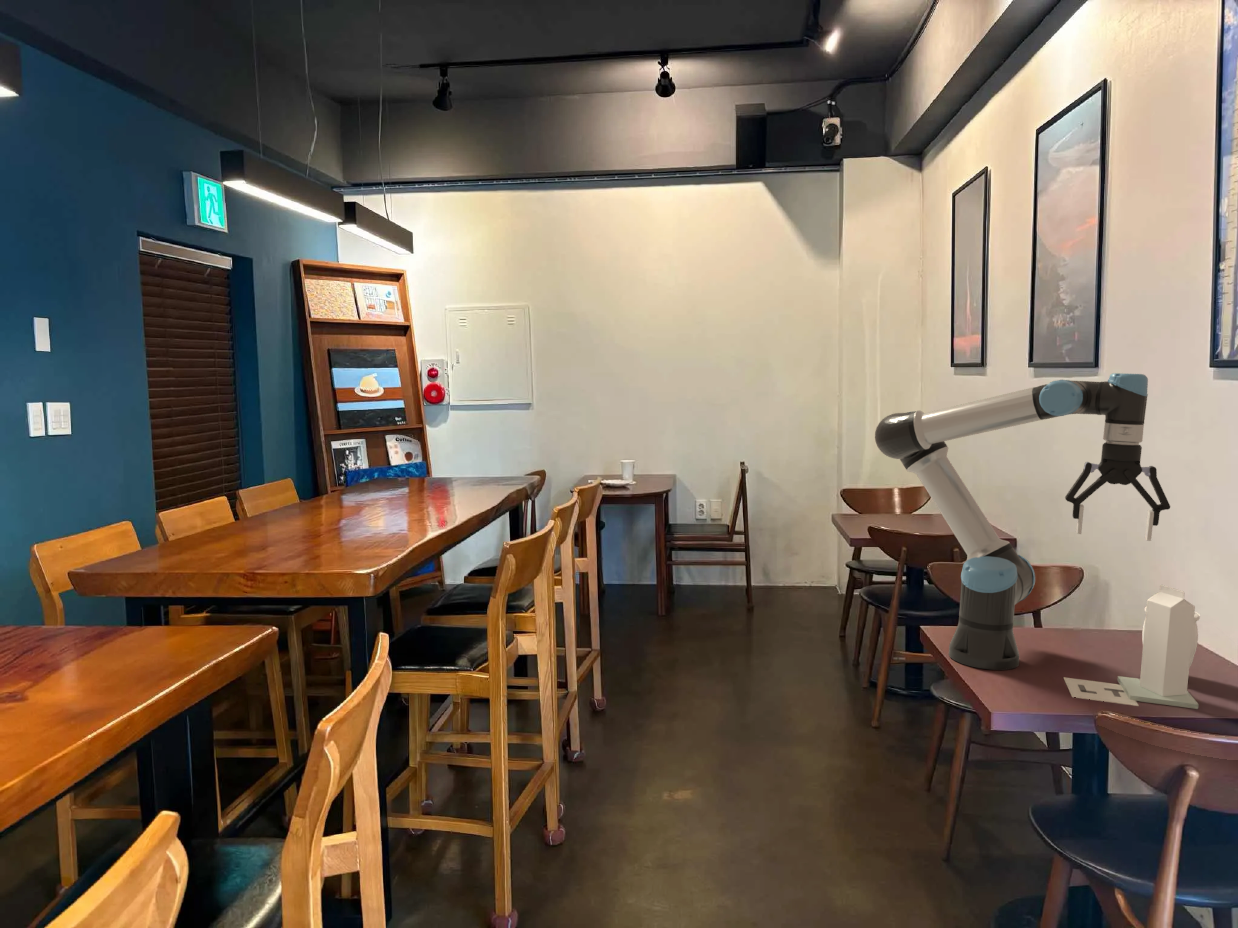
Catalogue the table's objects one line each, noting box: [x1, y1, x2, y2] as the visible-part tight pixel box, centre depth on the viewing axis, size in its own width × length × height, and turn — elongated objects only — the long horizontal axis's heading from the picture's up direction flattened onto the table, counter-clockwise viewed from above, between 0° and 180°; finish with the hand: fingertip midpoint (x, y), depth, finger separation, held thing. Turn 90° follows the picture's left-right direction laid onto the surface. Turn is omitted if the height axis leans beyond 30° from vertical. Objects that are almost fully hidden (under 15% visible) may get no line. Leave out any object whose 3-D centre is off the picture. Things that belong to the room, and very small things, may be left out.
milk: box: [1139, 584, 1196, 696], centre depth 173 cm, size 6×6×22 cm
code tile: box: [1063, 677, 1140, 707], centre depth 176 cm, size 12×12×1 cm
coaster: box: [1117, 675, 1199, 710], centre depth 175 cm, size 12×12×1 cm
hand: (1112, 536), depth 187 cm, fingers open, 13 cm apart
